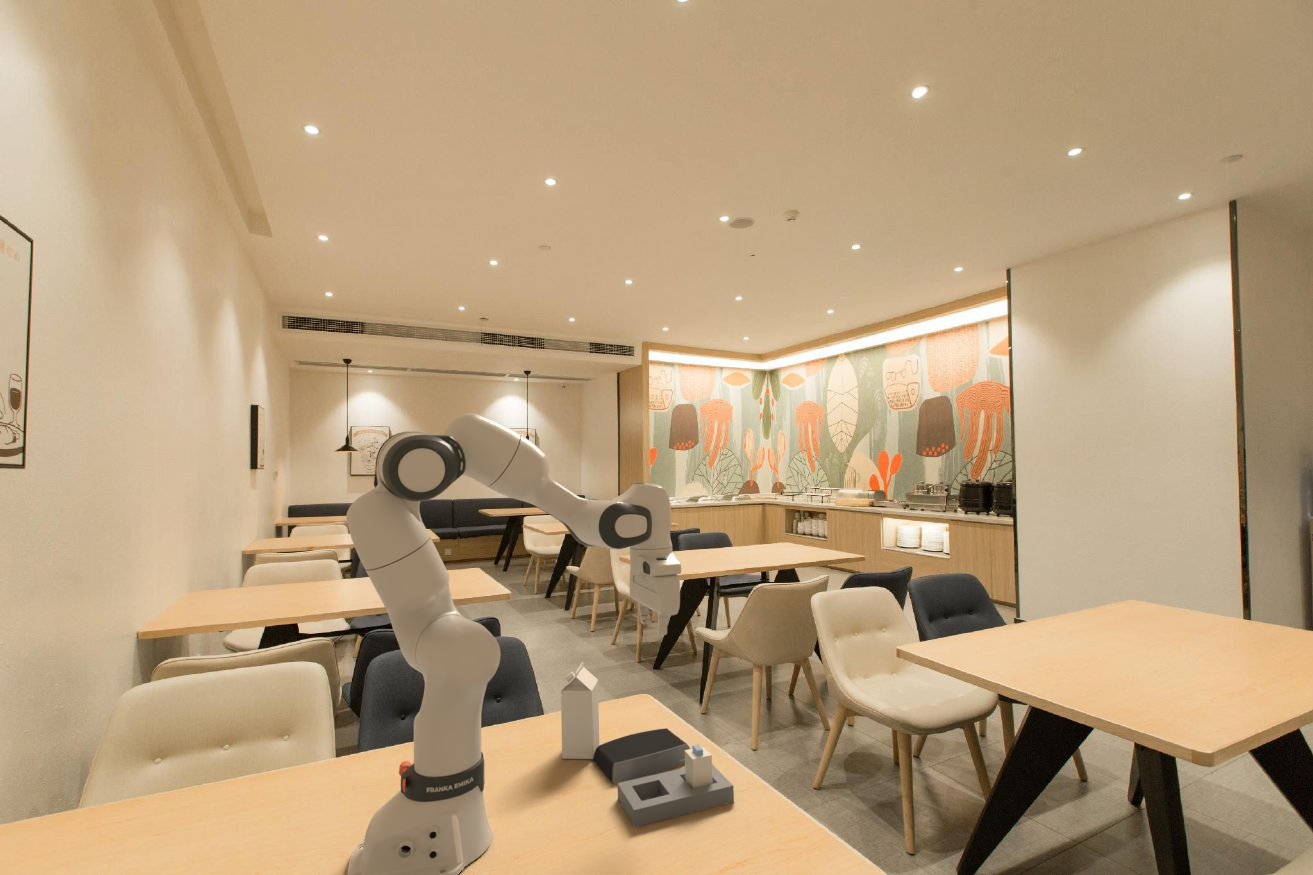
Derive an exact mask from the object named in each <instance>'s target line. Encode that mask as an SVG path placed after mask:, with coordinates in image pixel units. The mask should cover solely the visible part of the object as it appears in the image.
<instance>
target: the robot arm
mask: <svg viewBox="0 0 1313 875" xmlns="http://www.w3.org/2000/svg"><path fill="white" fill-rule="evenodd" d="M549 464H550V463H549V459H548V457H547V454H545V452H544V451H543V450H541V449H540V448H539V447H538V446H537V445H536V444H534V443H533V441H531V440H529V438H526V437H524V436H523V435H522V434H519V433H518V432H517V431H515V430H513V429H511V428H509V426H506V425H504V424H503V423H500V422H497V421H495V420H493V419H490V418H488V417H486V416H484V415H480V414H478V413H475V412H466V413H463V414H461V415H459V416H457V417H455V418H454V419H453V420H452V421H451V422H450V423H449V424H448V425H447V427H446V429H445V430H444V431H443V432H442V433H440V434H428V433H425V432H422V431H414V430H412V431H402V432H398V433H396V434H393V435H392V436H390V437H389V438H387V439H386V440H385V441H384V442H382V444H381V446H380V448H379V450H378V451H377V454H376V459H375V469H374V470H375V471H374V478H373V487H374V488H373V489H371V490H370V491H368V492H366V493H363V494H362V495H360V496H359V497H358V498H357V499H355V500H354V501H353V502H352V503H351V504H350V505H349V508H348V510H347V512H346V519H345V520H346V523H347V528H348V531H349V534H350V539H351V541H352V543H353V546H354V548H355V551H356V553H357V556H358V558H359V560H360V563H361V565H362V566H363V568H364V570H365V572H366V574H367V576H368V577H369V579H370V582H371V584H372V585H373V587H374V589H375V592H376V593H377V594H378V596H379V598H380V600H381V601H382V603H383V606H384V608H385V610H386V612H387V615H388V618H389V620H390V623H391V626H392V630H393V633H394V635H395V638H396V640H397V643H398V645H399V646H398V647H399V649H400V652H401V654H402V656H403V658H404V659H405V661H406V662H407V663H408V666H410V667H411V668H413V669H414V670H416V671H418V672H419V673H421V674H422V675H423V680H424V689H423V690H424V691H423V695H422V696H423V697H422V701H421V706H420V708H419V711H418V712H417V713H416V716H415V717H414V719H413V763H412V762H411V761H410V760H404V761H402V762H401V763H400V765H399V769H398V775H399V776H400V790H399V791H397V793H396V794H395V795H393V797H391V798H390V799H389V800H388V801H387V802H386V803H384V804H383V805H382V806H381V807H380V808H378V810H377V811H376V812H375V813H374V814H373V816H372V818H371V819H370V822H369V824H368V826H367V828H366V832H365V836H364V839H362V840H361V841H360V842H359V843H358V845H357V846H356V847H355V848H354V850H353V851H352V853H351V856H350V859H349V861H348V862H349V863H348V866H347V873H348V875H457V874H459V873H460V872H461V870H462V871H464V869H465V868H466V867H468V865H470V863H473V862H474V861H475V860H476V859H478V858H479V857H480V856H482V855H483V854H484V852H486V851H487V849H488V848H490V847H489V846H490V845H491V844H492V839H493V833H492V829H491V827H490V824H489V819H488V815H487V811H486V810H487V809H486V805H485V797H484V796H485V795H484V789H485V783H486V764H485V758H484V754H483V751H482V710H483V704H484V703H483V702H484V698H485V694H486V692H487V691H486V690H487V687H488V683H489V682H490V681H491V680H492V678H494V676H495V674H496V672H497V670H498V669H499V666H500V662H501V647H500V643H499V642H498V640H497V639H496V637H495V636H494V635H493V634H492V633H491V631H489V630H488V629H487V628H486V626H484V625H482V624H481V623H479V622H476V621H474V620H472V619H468V618H466V617H465V616H463V615H462V613H460V612H459V611H458V609H457V607H456V605H455V604H454V601H453V597H452V593H451V590H450V586H449V585H450V584H449V582H450V574H449V572H448V569H447V567H446V566H445V564H444V561H443V560H442V558H441V557H442V556H440V554H439V552H438V549H437V547H436V545H435V543H434V542H433V540H432V537H431V535H430V533H429V532H428V530H427V528H426V526H425V524H424V522H423V519H422V516H421V512H420V504H421V502H425V501H426V502H427V501H430V500H432V499H434V498H436V497H438V496H439V495H441V494H442V493H443V492H445V491H446V490H448V488H449V487H450V486H452V484H453V483H454V482H456V481H457V480H458V479H460V478H461V477H462V475H464V476H467V477H469V478H471V479H472V480H475V481H476V482H479V483H480V484H482V485H483V486H485V487H487V488H489V489H491V490H493V491H494V492H497V493H499V494H501V495H503V496H505V497H508V498H511V499H514V500H518V501H521V502H525V503H528V504H531V505H533V506H534V507H535V508H538V510H541V511H543V512H544V513H545V514H548V515H549V516H551V517H552V518H554V519H555V520H558V522H560V523H561V524H562V525H563V526H564V527H566V528H565V529H566V530H568V532H569V534H570V535H571V536H572V538H573V539H574V540H575V541H576V542H578V543H579V544H581V545H583V546H584V547H598V548H603V549H608V550H609V549H610V550H622V549H627V548H629V562H630V563H629V565H630V567H629V568H630V570H629V596H630V598H631V599H632V600H634V601H635V602H637V608H638V612H639V617H640V618H639V619H640V623H641V624H642V625H650V624H651V615H650V611H649V610H651V611H653V612H654V613H656V617H657V624H656V625H655V629H656V630H655V632H656V634H658V636H666V635H667V634H668V625H669V621H670V616H675V615H678V613H679V610H680V606H681V584H680V583H681V582H680V576H679V575H680V574H682V565H681V562H680V561H679V560H678V559H677V557H676V556H675V553H674V552H673V543H672V540H671V528H672V525H673V522H672V508H671V507H672V506H671V501H670V500H671V498H670V496H669V493H668V490H667V489H666V488H665V486H662V485H660V484H656V483H648V482H635V483H632V485H631V486H630V487H629V488H628V489H627V490H625V492H623V493H621V494H619V495H618V496H616V497H614V498H611V499H610V500H607V499H606V500H602V499H601V500H600V499H598V498H597V499H596V498H583V497H581V496H578V495H577V494H575V493H573V492H572V491H570V490H569V489H568V488H566V487H564V486H563V485H561V484H559V483H558V482H557V481H555V480H554V479H553V478H551V477H550V474H549V472H550V465H549ZM361 847H363V849H360V848H361ZM465 866H466V867H465ZM464 867H465V868H464ZM461 873H462V872H461ZM461 873H460V874H461ZM460 874H459V875H460Z"/></svg>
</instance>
